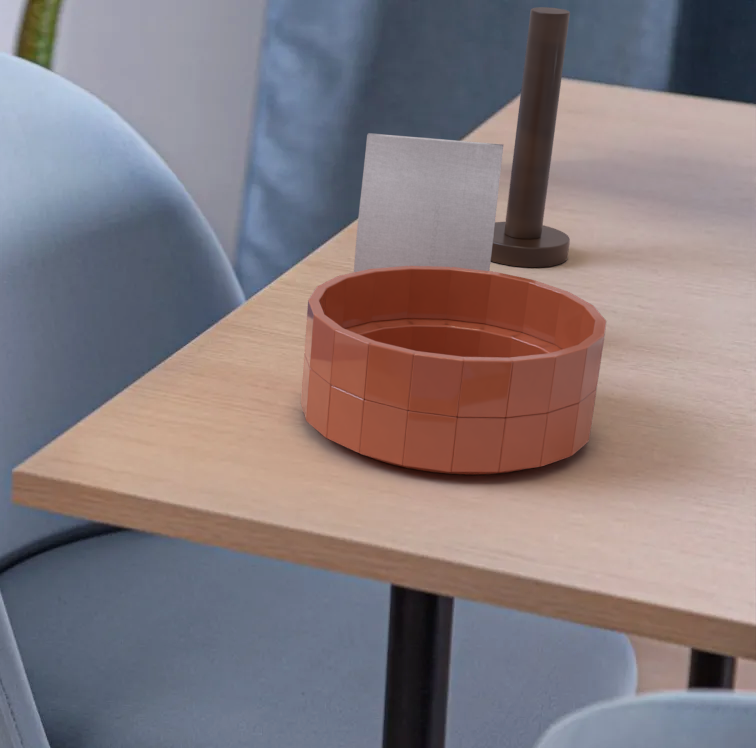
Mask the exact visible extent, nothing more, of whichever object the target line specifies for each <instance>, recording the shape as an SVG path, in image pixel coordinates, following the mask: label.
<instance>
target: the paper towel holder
mask: <svg viewBox="0 0 756 748" xmlns="http://www.w3.org/2000/svg"><path fill="white" fill-rule="evenodd" d="M570 17H571V12H570V11H569V10H567V9H564V8H557V7H546V6H543V7H541V6H539V7H533V8H531V9H530V14H529V22H528V23H529V24H528V31H527V39H526V47H525V55H524V63H523V71H522V79H521V80H522V81H521V90H520V97H519V104H518V105H519V106H518V114H517V122H516V131H515V139H514V145H513V147H514V148H513V156H512V163H511V170H510V172H511V173H510V180H509V181H510V182H509V190H508V197H507V206H506V215H505V221H495V227H494V236H493V244H492V253H491V261H490V262H493V263H497V264H500V265H505V266H512V267H519V268H520V267H521V268H546V267H554V266H558V265H561V264H563V263H565V262H566V261H567V259H568V258H569V249H570V243H571V240H570V236H569V235H568V234H567V233H565V232H564V231H562V230H559V229H557V228H554V227H551V226H547V225H545V224H544V218H545V211H546V210H545V209H546V204H547V203H546V202H547V193H548V187H549V180H550V171H551V163H552V154H553V148H554V147H553V146H554V138H555V132H556V124H557V117H558V110H559V109H558V108H559V100H560V93H561V85H562V77H563V70H564V62H565V54H566V47H567V39H568V31H569V24H570ZM543 224H544V225H543Z"/></svg>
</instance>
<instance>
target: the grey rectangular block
mask: <svg viewBox="0 0 756 748" xmlns="http://www.w3.org/2000/svg"><path fill="white" fill-rule="evenodd" d="M365 143H366V144H365V153H364V162H363V173H362V182H361V190H360V200H359V209H358V218H357V219H358V220H357V229H356V239H355V253H354V264H353V272H358V271H362V270H367V269H373V268H386V267H398V266H445V267H458V268H467V269H476V270H485V271H491V270H490V269H491V268H490V267H491V262H492V261H491V253H492V244H493V236H494V227H495V222H496V217H497V207H498V199H499V190H500V189H499V188H500V179H501V172H502V161H503V153H504V144H503V143H493V142H491V143H490V142H481V141H480V142H478V141H469V140H468V141H467V140H454V139H443V138H442V139H441V138H430V137H419V136H418V137H417V136H405V135H394V134H384V133H383V134H381V133H371V132H368V133H367V135H366V142H365Z"/></svg>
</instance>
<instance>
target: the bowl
mask: <svg viewBox="0 0 756 748" xmlns="http://www.w3.org/2000/svg"><path fill="white" fill-rule="evenodd" d="M306 311H307V312H306V323H305V324H306V327H305V328H306V329H305V337H304V338H305V339H304V352H303V365H302V366H303V367H302V381H301V393H300V394H301V395H300V396H301V397H300V405H301V409H302V413H303V415H304V417H305V421H306V423H308V424H309V425H310V426H311V427H312V428H314V429H315V430H316V431H317V432H318V433H320V434H321V436H323V437H324V438H325V439H328V440H330V441H332V442H334V443H336V444H338V445H340V446H342V447H345V448H347V449H348V450H351V451H353V452H355V453H357V454H360V455H363V456H366V457H368V458H370V459H373V460H376V461H379V462H383V463H386V464H389V465H393V466H398V467H402V468H405V469H406V468H407V469H411V470H416V471H417V470H418V471H424V472H429V473H430V472H431V473H439V474H448V475H450V474H451V475H476V476H477V475H497V474H505V473H512V472H518V471H523V470H528V469H533V468H535V469H536V468H540V467H544V466H547V465H551V464H554V463H557V462H558V461H563V460H565V459H567V458H570V457H572V456H574V454H576V453H578V451H580V450H581V449H582V448H583V447H585V445H586V444H588V443H589V442H590V438H591V430H592V424H593V417H594V411H595V405H596V404H595V403H596V396H597V389H598V383H599V376H600V369H601V363H602V356H603V350H604V343H605V337H606V330H607V329H606V328H607V320H606V319H605V317H604V316H603V315H602V314H601V312H599V309H597V308H596V306H595V305H593V304H591V303H589V302H588V301H586V300H584V299H583V298H581V297H579V296H577V295H576V294H574V293H572V292H570V291H568V290H565V289H561V288H559V287H556V286H553V285H550V284H547V283H544V282H541V281H539V280H535V279H531V278H526V277H521V276H518V275H512V274H507V273H502V272H499V271H492V270H489V271H485V270H476V269H467V268H458V267H445V266H398V267H386V268H373V269H367V270H362V271H358V272H354V271H353V272H350V273H345V274H340V275H337V276H335V277H333V278H331V279H328V280H326V281H325V282H322V283H321V284H318V285H317V286H316V287H315V289H314V290H313V291H312V293H311V295H310V297H309V298H308V300H307V310H306Z"/></svg>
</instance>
